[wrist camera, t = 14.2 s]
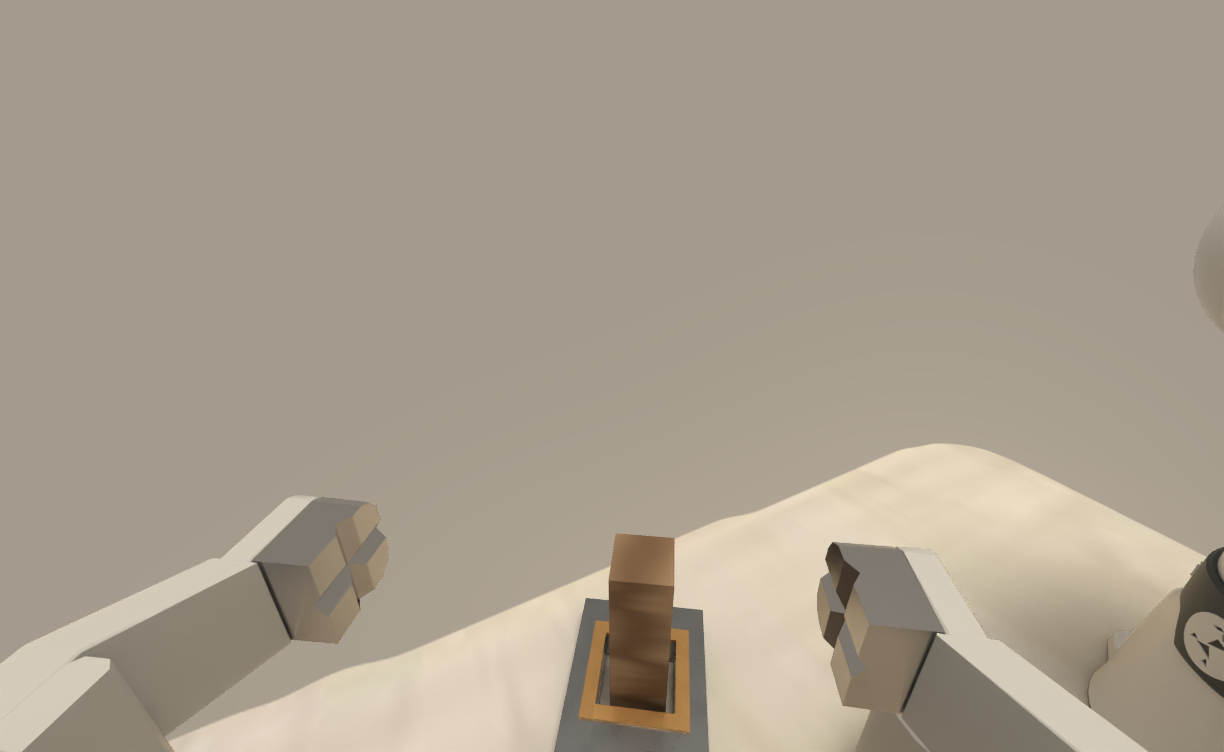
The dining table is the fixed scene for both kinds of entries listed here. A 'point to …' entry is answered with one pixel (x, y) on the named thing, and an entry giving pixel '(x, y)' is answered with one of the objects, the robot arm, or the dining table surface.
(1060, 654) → the dining table surface
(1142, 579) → the dining table surface
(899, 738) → the can
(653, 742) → the metal plate
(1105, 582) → the dining table surface
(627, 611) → the walnut peg
